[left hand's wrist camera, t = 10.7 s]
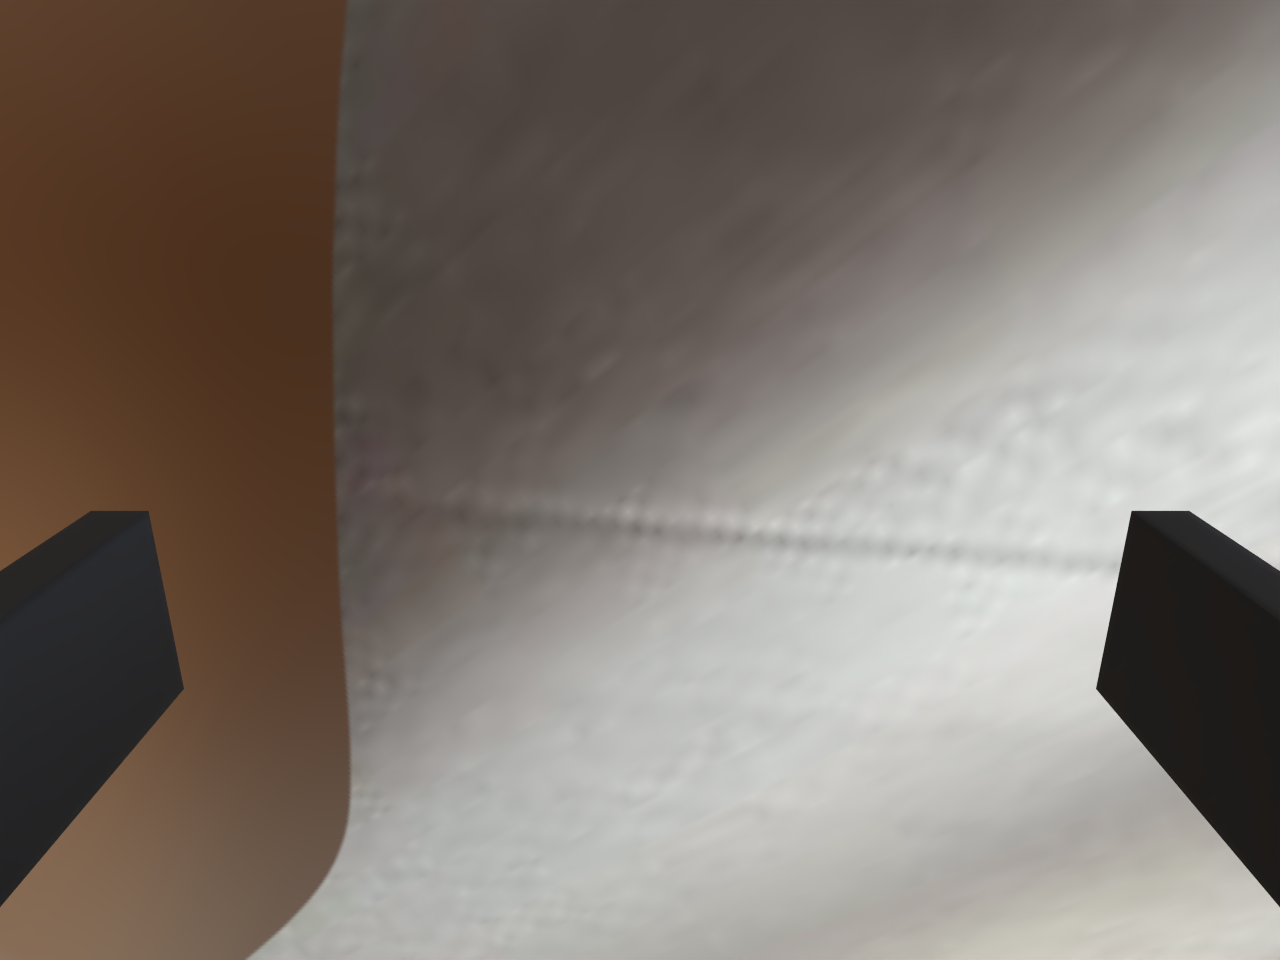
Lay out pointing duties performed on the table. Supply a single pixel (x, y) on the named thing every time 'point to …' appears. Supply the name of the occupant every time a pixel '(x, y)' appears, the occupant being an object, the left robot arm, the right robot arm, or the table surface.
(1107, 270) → the table surface
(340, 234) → the table surface
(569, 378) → the table surface
